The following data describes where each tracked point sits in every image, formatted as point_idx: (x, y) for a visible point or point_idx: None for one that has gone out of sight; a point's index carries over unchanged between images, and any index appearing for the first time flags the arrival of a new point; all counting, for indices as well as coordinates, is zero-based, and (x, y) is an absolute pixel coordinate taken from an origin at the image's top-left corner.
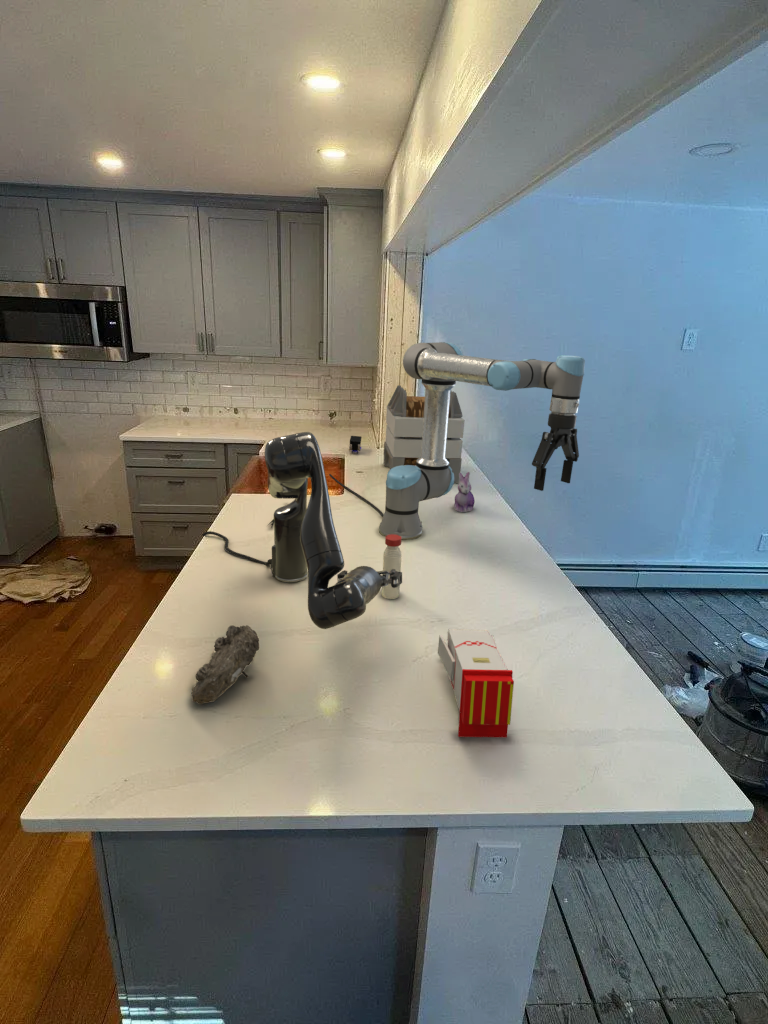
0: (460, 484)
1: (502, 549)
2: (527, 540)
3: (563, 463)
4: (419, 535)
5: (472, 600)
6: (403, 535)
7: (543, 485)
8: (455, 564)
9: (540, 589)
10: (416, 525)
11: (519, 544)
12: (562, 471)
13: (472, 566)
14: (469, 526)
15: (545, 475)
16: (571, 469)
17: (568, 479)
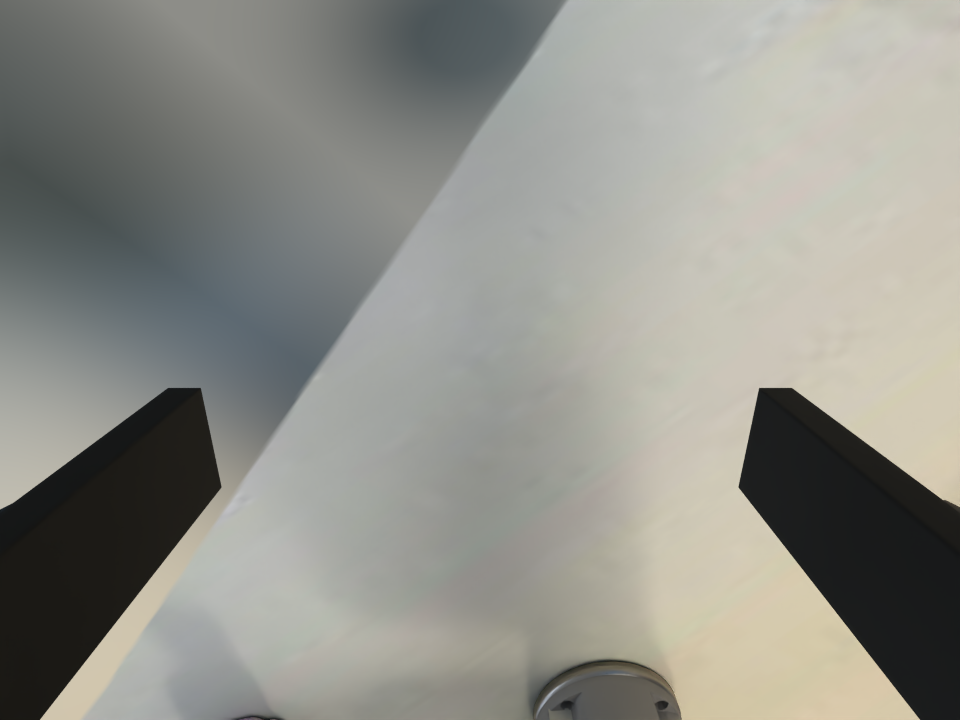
0: None
1: (422, 460)
2: (261, 459)
3: (54, 698)
4: (588, 668)
5: (893, 254)
6: (656, 687)
7: (814, 419)
8: (676, 472)
9: (615, 146)
10: (609, 709)
11: (323, 453)
12: (147, 574)
13: (643, 430)
14: (360, 640)
15: (908, 508)
16: (39, 499)
17: (176, 419)
